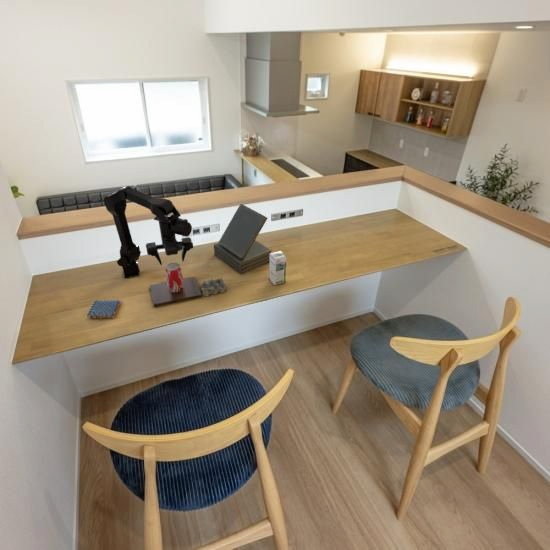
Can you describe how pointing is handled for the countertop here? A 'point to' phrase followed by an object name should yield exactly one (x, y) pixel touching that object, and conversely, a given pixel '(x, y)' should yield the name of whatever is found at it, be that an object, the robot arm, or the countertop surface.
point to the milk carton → (277, 267)
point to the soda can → (174, 277)
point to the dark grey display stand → (243, 241)
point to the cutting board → (167, 297)
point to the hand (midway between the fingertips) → (172, 262)
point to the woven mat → (104, 309)
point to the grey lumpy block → (212, 286)
